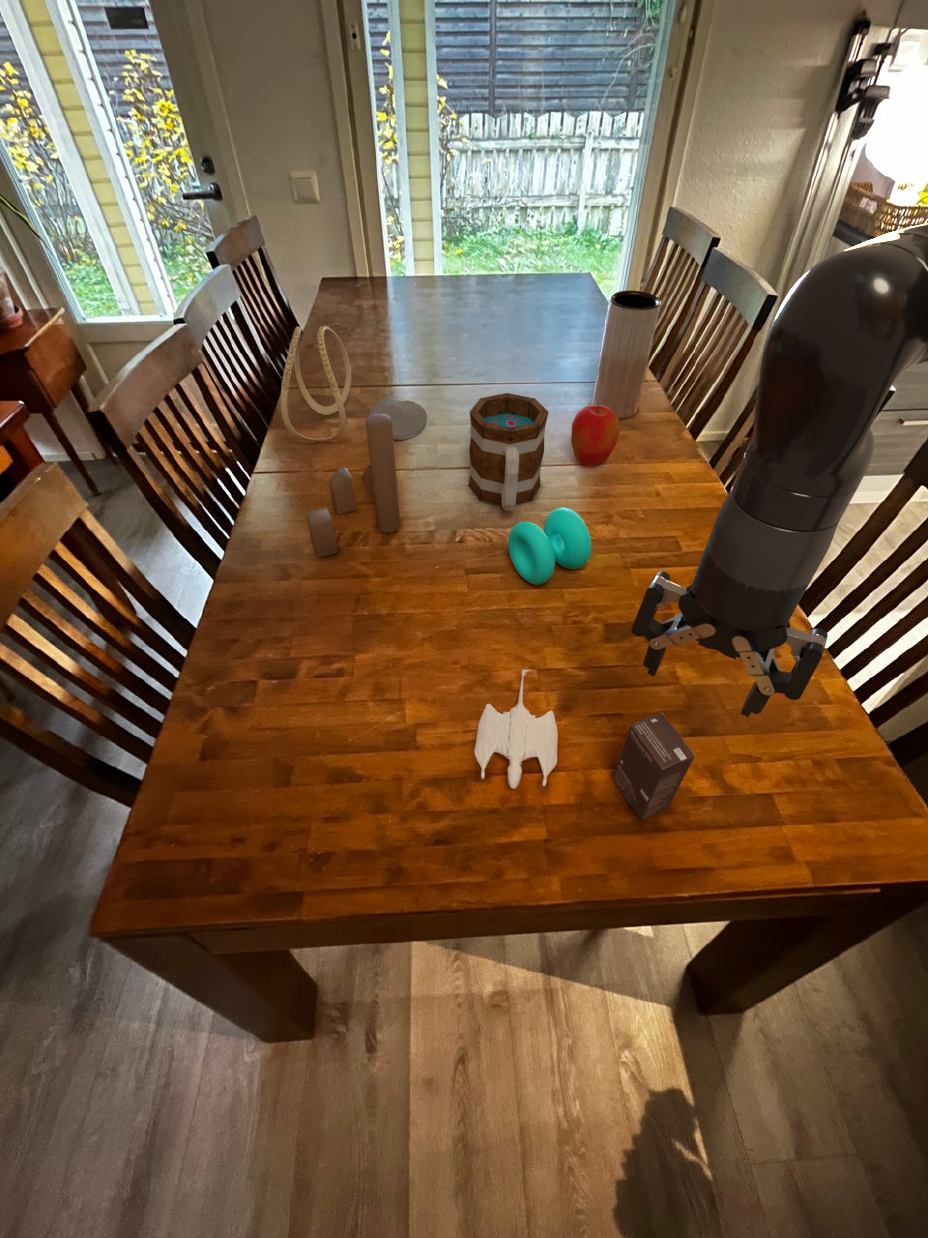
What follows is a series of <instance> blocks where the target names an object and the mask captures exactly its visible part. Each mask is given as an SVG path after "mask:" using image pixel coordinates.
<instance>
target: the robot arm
mask: <svg viewBox="0 0 928 1238" xmlns="http://www.w3.org/2000/svg"><path fill="white" fill-rule="evenodd" d="M762 351H763V352H762V356H761V361H760V368H759V375H758V383H757V391H756V397H755V398H756V399H755V405H754V417H753V418H754V422H753V433H752V436H751V438H750V440H749V442H748V444H747V447H746V449H745V451H744V454H743V457H742V460H741V462H740V464H739V467H738V470H737V472H736V476H735V478H734V479H733V483H732V485H731V488H730V490H729V492H728V494H727V496H726V497H725V500H724V501H723V503H722V505H721V506H720V509H719V511H718V513H717V515H716V518H715V520H714V523H713V525H712V529H711V532H710V534H709V537H708V540H707V542H706V545H705V547H704V550H703V552H702V556H701V558H700V561H699V564H698V566H697V569H696V572H695V574H694V576H693V579H692V582H691V584H690V585H688V586H687V587H684V586H681V585H679V584H677V583H674V582H672V581H670V580H671V575H670V574H669V573H668V572H666V571H664V570H659V571H658V572H656V574H655V575H654V576H653V579H652V581H651V582H650V584H649V585H648V587H647V589H646V591H645V593H644V596H643V599H642V601H641V603H640V606H639V608H638V611H637V614H636V616H635V618H634V621H633V623H632V626H631V628H630V631H631V633H632V635H633V636H635V637H638V638H642V637H643V638H645V640H647V642H648V646H647V650H646V653H645V655H644V659H643V661H642V662H643V667H644V668H646V669H648V670H647V675H648V676H651V677H656V674H657V673H658V670H659V669H660V667H661V665H662V663H663V659H664V657H665V654H666V652H667V649H668V647H670V646H676V647H680V646H682V645H684V644H687V643H690V642H693V641H696V642H698V643H697V645H698V646H701V647H703V648H705V649H709V650H713V651H718V652H719V653H720V654H722V655H724V656H725V657H728V658H730V659H733V660H736V659H737V658H740V659H741V661H742V663H743V665H744V667H745V670H746V673H747V674H748V676H750V677H752V678H753V679H754V682H753V685H752V687H751V688H750V690H749V692H748V694H747V695H746V698H745V700H744V702H743V704H742V708H741V710H740V713H739V714H740V715H742V716H744V717H747V718H749V717H750V715H751V714H754V715H756V716H757V715H759V714H761V713H762V711H763V710H764V708H765V707H766V705H767V703H768V701H769V700H770V698H771V697H772V695H774V694H782V695H784V696H785V697H786V698H787V699H788V700H791V701H798V700H800V699H801V698H802V696H803V694H804V692H805V690H806V688H807V687H808V684H809V683H810V681H811V678H812V677H813V675H814V673H815V671H816V669H817V667H818V666H819V664H820V662H821V660H822V658H823V655H824V652H825V649H826V644H827V640H828V637H829V636H828V635H829V634H828V632H827V631H826V630H824V629H822V628H813V629H812V630H811V631H810V632H806V631H804V630H801V629H798V628H794V627H791V622H790V620H791V617H792V616H793V614H794V612H795V611H796V608H797V607H798V606H799V603H800V601H801V600H802V598H803V597H804V594H805V592H806V591H807V589H808V587H809V586H810V584H811V582H812V580H813V578H814V576H815V574H816V573H817V571H818V569H819V568H820V566H821V564H822V562H823V561H824V559H825V558H826V557H825V556H826V555H827V553H828V551H829V549H830V547H831V545H832V542H833V539H834V536H835V534H836V531H837V528H838V525H839V523H840V521H841V519H842V518H843V516H844V514H845V512H846V510H847V509H848V507H849V505H850V503H851V501H852V499H853V497H854V496H855V494H856V492H857V490H858V488H859V487H860V484H861V483H862V480H864V479H863V478H864V477H865V475H866V472H867V470H868V469H869V466H870V464H871V461H872V459H873V455H874V452H875V438H874V434H873V431H872V429H871V428H872V425H873V423H874V421H875V418H876V417H877V414H878V412H879V410H880V408H881V405H882V404H883V402H884V400H885V399H886V396H887V394H888V393H889V391H890V390H891V388H892V387H893V386H894V383H896V381H897V379H898V377H899V376H900V375H901V374H902V373H903V372H905V371H907V370H908V369H910V368H912V367H913V366H915V365H918V364H924V363H928V223H923V224H919V225H915V226H909V227H906V228H903V229H899V230H896V231H892V232H887V233H886V234H882V235H880V236H877V237H875V238H873V239H870V240H867V241H865V242H862V243H860V244H857V245H855V246H852V247H849V248H847V249H844V250H842V251H839V252H836V253H834V254H832V255H830V256H828V257H825V258H823V259H821V260H820V261H818V262H817V263H816V264H815V265H813V266H812V267H811V268H809V269H808V270H807V271H806V272H805V273H803V275H801V276H800V277H799V279H798V280H797V281H796V282H795V283H794V284H793V285H792V288H790V290H789V291H788V293H787V294H786V296H785V297H784V299H783V301H782V303H781V304H780V306H779V309H778V310H777V312H776V315H775V316H774V319H773V321H772V323H771V325H770V328H769V331H768V333H767V337H766V340H765V343H764V347H763V350H762ZM673 602H674V603H675V602H677V604H678V605H677V606H678V609H679V612H678V613H677V614H676V615H675V616H674V617H671V618H668V619H666V620H664V621H661V622H660V621H659V620H657V619H656V618H655V616H656V613H657V611H658V609H662V608H663V607H668V606H669V604H670V603H673ZM784 644H787V645H788V646H789V647H790V654H791V656H792V657H793V660H794V665H793V667H792V669H791V671H784V670H782V669H781V666H780V664H779V662H778V660H777V657H776V655H775V648H779V647H781V646H783V645H784Z"/></svg>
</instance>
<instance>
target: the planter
mask: <svg viewBox="0 0 928 1238" xmlns="http://www.w3.org/2000/svg"><path fill="white" fill-rule="evenodd" d="M661 305H662V301H661V299H660V298H659V297H658V296H656V295H655V294H652V293H649V292H646V291H641V290H620V291H616V292H614V293H612V294H610V296H609V298H608V301H607V307H606V308H607V309H606V315H605V321H604V327H603V333H602V339H601V345H600V351H599V358H598V362H597V370H596V375H595V380H594V381H595V382H594V386H593V387H594V388H593V393H592V400H591V405H602V406H607V407H608V408H610V409H611V410H612V411H613V412H614V413H615V414H616V415H617V417H618V419H627V418H630V417H632V416H634V415H635V414H636V413H637V410H638V408H639V404H640V400H641V396H642V395H641V394H642V390H643V386H644V382H645V377H646V373H647V368H648V365H649V364H648V363H649V359H650V355H651V350H652V346H653V341H654V338H655V333H656V328H657V323H658V319H659V315H660V309H661Z"/></svg>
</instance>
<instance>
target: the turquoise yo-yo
mask: <svg viewBox="0 0 928 1238" xmlns="http://www.w3.org/2000/svg"><path fill="white" fill-rule="evenodd" d="M507 546H508V552H509V556H510V559H511V562H512V565H513V567H514V568H515V570H516V571H517V573H518V574H519V576H520V577H521V578H522V579H523V580H525V581H526V582H527V583H529V584H532V585H542V584H545V583H546V582H548V581H549V580H550V579H551V577H552V576H553V574H554V571H555V567H556V563H557V564H558V565H560V566H561V567H563V568H566V569H569V570H578V569H580V568H582V567H583V566H585V565H586V564H587V563H588V561H589V559H590V556H591V554H592V538H591V534H590V531H589V529H588V527H587V525H586V523H585V522H584V520H583V518H582V517H581V516H580V515H579V514H578V513H577V512H575V511H574V510H572V508H568V507H557V508H554V509H553V510H552V511H550V512H549V514H548V515H547V516H546V519H545V521H544V525H543V529H542V528H541V527H540V526H539V525H537V524H536V523H533V522H531V521H520V522H518V523H516V524H514V526H512V528H511V530H510V531H509V534H508V540H507Z"/></svg>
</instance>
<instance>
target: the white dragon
mask: <svg viewBox="0 0 928 1238" xmlns="http://www.w3.org/2000/svg"><path fill="white" fill-rule="evenodd" d="M527 668H528V667H526V668H525V665H524V667H523V669H522V670H521V673H520V675H521V681H520V688H519V695H518V701H517V703H516V705H515V706H514V707H512V708H510V710H509V711H502V713H501V712H499V711H497V709H495V707H493V705H492V704H491V703H487V704H486V705H485V707H484V710H483V711H482V713H481V716H480V718H479V721H478V725H477V730H476V740H475V744H474V751H473V753H474V756H475V759H476V761H477V763H478V764H479V766H480V768H481V773H480V778H481V780H484V779H485V776H486V773H485V769H486V767H487V766H488V764H489V762H490V760H491V758H492V756H493V755H494V754H495V753H498V755H499V754H500V755H501V756H503V757H504V758H505V759H507V760H508V763H509V765H508V767H507V784H508V786H509V787H510V789H516V788H517V787H518V786H519V784H520V781H521V779H522V778H521V777H522V774H523V769H522V768H523V767H522V764H523V761H526V760H530V759H531V758H537V760H538V763H539V765H540V769H541V771H542V775H543V778H542V787H546V785H547V777H548V776H549V774H550V773H551V772H552V771H553V769H554V768H555V767H556V766H557V763H558V744H559V743H558V741H559V732H558V726H557V721H556V717H555V714H554V711H552V710H549V711H547V712H546V713H545V714H543V715H541V716H539V717H536V716H537V714H532V713H530V710H529V709H528V708H526V707H525V704H524V703H523V702H524V701H523V699H524V677H525V676H526V675H528V672H530V671H532V669H527Z"/></svg>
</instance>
